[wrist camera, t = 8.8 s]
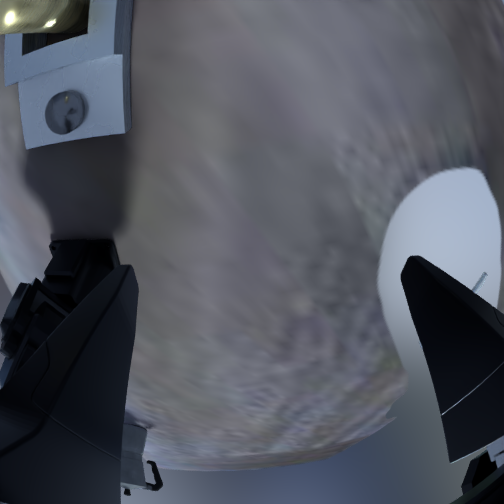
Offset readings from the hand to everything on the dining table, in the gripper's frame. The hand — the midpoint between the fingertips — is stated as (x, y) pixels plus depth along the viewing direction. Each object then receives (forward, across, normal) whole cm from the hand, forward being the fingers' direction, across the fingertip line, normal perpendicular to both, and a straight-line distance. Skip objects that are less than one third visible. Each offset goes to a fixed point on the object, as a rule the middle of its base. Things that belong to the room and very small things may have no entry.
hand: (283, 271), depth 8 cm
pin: (+12, +11, -11) cm, 20 cm away
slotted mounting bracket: (+12, +11, -11) cm, 20 cm away
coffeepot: (+12, +25, +62) cm, 68 cm away
